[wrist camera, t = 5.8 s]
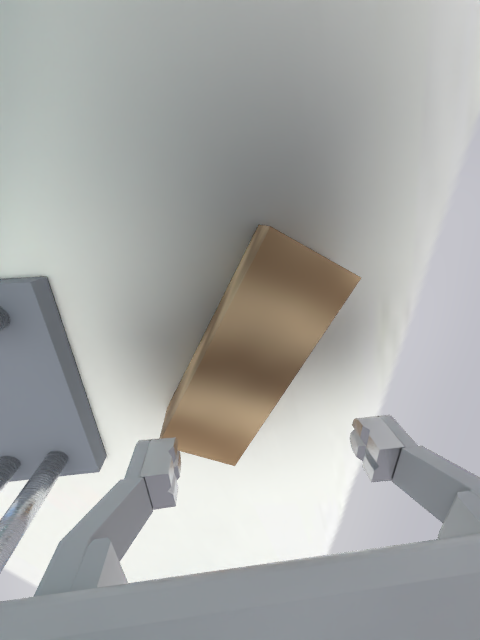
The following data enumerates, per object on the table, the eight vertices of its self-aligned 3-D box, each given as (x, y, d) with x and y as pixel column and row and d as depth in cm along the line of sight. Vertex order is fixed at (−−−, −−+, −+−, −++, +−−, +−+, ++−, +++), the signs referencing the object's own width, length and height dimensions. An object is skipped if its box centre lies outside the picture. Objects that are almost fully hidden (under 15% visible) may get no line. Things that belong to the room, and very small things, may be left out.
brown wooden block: (257, 224, 16) (270, 226, 13) (331, 265, 18) (361, 277, 14) (167, 405, 21) (157, 444, 17) (231, 425, 23) (234, 466, 19)
